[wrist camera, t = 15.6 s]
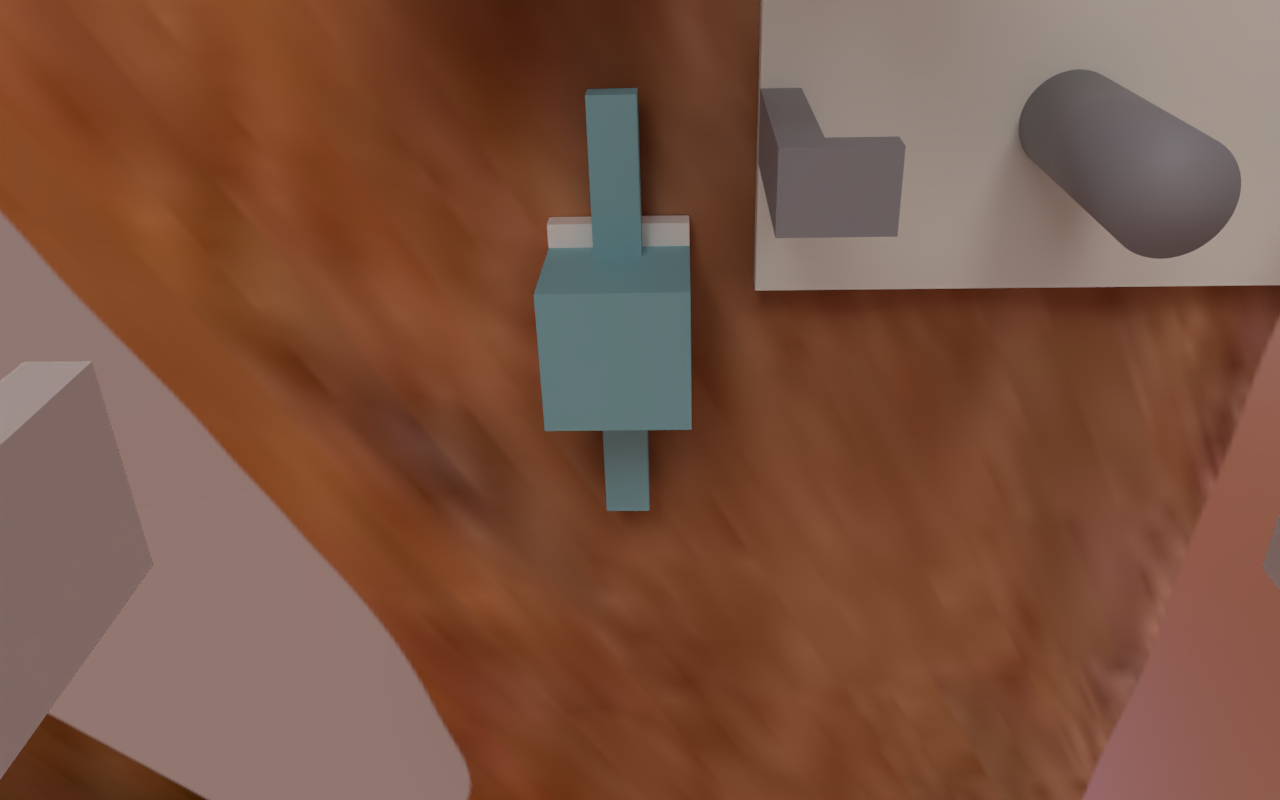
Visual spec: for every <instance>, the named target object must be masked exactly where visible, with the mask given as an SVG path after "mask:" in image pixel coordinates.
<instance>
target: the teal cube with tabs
mask: <svg viewBox="0 0 1280 800" xmlns="http://www.w3.org/2000/svg"><path fill="white" fill-rule="evenodd" d="M585 108H586V127H587V145H588V164H589V183H590V202H591V221H592V240H593V247H589V248H549V249H548V252H547V255H546V258H545V261H544V264H543V267H542V270H541V273H540V276H539V279H538V283H537V286H536V289H535V292H534V306H535V318H536V330H537V342H538V355H539V367H540V379H541V391H542V403H543V415H544V428H545V431H603V447H604V466H605V485H606V503H607V511H649V510H650V476H649V443H648V430H692V407H691V291H690V246H650V247H643V245H642V212H641V179H640V146H639V113H638V88H607V89H587V91H586V94H585Z"/></svg>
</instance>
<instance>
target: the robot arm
mask: <svg viewBox="0 0 1280 800" xmlns="http://www.w3.org/2000/svg"><path fill="white" fill-rule="evenodd" d="M152 566H153V562H152V559H151V556H150V552H149V549H148V546H147V542H146V539H145V536H144V532H143V529H142V526H141V523H140V519H139V516H138V512H137V509H136V506H135V503H134V499H133V496H132V493H131V489H130V486H129V483H128V479H127V476H126V473H125V469H124V466H123V463H122V460H121V457H120V453H119V450H118V446H117V443H116V440H115V437H114V433H113V430H112V426H111V423H110V420H109V417H108V413H107V410H106V407H105V403H104V400H103V397H102V393H101V390H100V387H99V383H98V380H97V377H96V373H95V371H94V367H93V364H92V362H91V361H86V362H85V361H84V362H83V361H80V362H79V361H77V362H76V361H73V362H70V361H68V362H23V363H22V364H20V365H19V366H18V367H17V368H15V369H14V370H13V371H12V372H11V373H9V374H8V375H7V376H6V377H4V378H3V379H2V380H1V381H0V779H1V778H2V776H3V775H4V773H5V772H6V771H7V769H8V768H9V766H10V765H11V764H12V762H13V761H14V759H15V758H16V757H17V755H18V754H19V752H20V751H21V750H22V748H23V747H24V745H25V744H26V743H27V741H28V740H29V738H30V737H31V736H32V734H33V733H34V731H35V730H36V729H37V727H38V726H39V724H40V723H41V722H42V720H43V719H44V717H45V716H46V715H47V713H48V712H49V710H50V709H51V707H52V706H53V705H54V703H55V702H56V700H57V699H58V698H59V696H60V695H61V693H62V692H63V691H64V689H65V688H66V686H67V685H68V684H69V682H70V681H71V679H72V678H73V677H74V675H75V674H76V672H77V671H78V669H79V668H80V667H81V665H82V664H83V663H84V661H85V660H86V658H87V657H88V655H89V654H90V653H91V651H92V650H93V649H94V647H95V646H96V644H97V643H98V641H99V640H100V639H101V637H102V636H103V635H104V633H105V632H106V630H107V629H108V627H109V626H110V625H111V623H112V622H113V621H114V619H115V618H116V616H117V615H118V614H119V612H120V611H121V609H122V608H123V606H124V605H125V604H126V602H127V601H128V600H129V598H130V596H131V595H132V594H133V593H134V591H135V590H136V588H137V587H138V585H139V584H140V583H141V581H142V580H143V578H144V577H145V576H146V574H147V573H148V571H149V570H150V569H151V567H152ZM1262 568H1263V570H1264V571H1265V572H1266V573H1267V575H1268V576H1269V577H1270V579H1271V580H1272V581H1273V583H1274V584H1275V585H1276V586H1277V588H1278V589H1279V590H1280V513H1279V516H1278V519H1277V523H1276V525H1275V528H1274V532H1273V535H1272V538H1271V541H1270V545H1269V548H1268V551H1267V554H1266V557H1265V561H1264V564H1263V567H1262Z"/></svg>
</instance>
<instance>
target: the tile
mask: <svg viewBox="0 0 1280 800" xmlns="http://www.w3.org/2000/svg"><path fill="white" fill-rule="evenodd" d="M547 234H548V249H549V248H589V247H593V240H592V221H591V217H549V220H548V223H547ZM642 245H643V247H650V246H690V236H689V215H671V216H642Z"/></svg>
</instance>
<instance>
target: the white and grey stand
mask: <svg viewBox="0 0 1280 800" xmlns="http://www.w3.org/2000/svg"><path fill="white" fill-rule="evenodd" d="M753 281H754V287H755V291H768V290H865V289H962V288H1058V287H1155V286H1251V285H1280V0H761V5H760V44H759V83H758V122H757V162H756V201H755V240H754V279H753Z"/></svg>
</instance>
